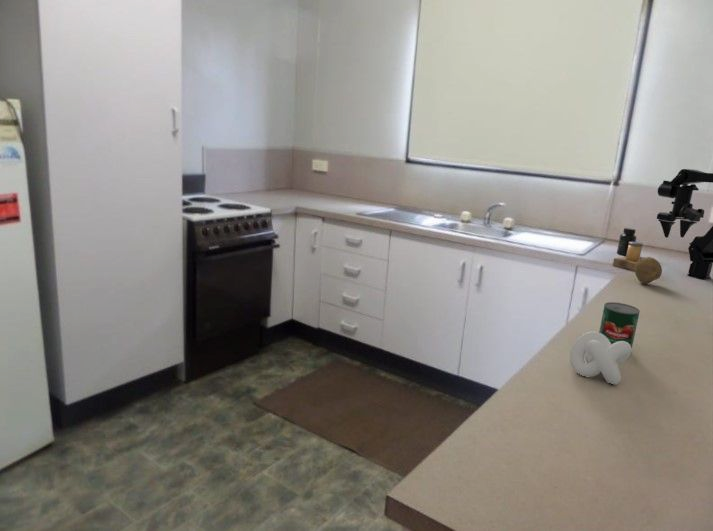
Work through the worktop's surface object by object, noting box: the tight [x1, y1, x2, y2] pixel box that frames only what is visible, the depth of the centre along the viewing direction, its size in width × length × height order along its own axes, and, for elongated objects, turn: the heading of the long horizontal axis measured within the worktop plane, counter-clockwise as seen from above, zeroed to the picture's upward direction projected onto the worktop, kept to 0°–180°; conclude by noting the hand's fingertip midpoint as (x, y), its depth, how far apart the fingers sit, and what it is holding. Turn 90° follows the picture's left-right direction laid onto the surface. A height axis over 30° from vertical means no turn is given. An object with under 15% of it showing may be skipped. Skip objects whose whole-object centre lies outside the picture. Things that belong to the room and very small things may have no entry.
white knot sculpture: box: [569, 330, 633, 385], centre depth 118 cm, size 11×12×9 cm
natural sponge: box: [634, 256, 663, 285], centre depth 202 cm, size 9×9×10 cm
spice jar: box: [625, 241, 644, 262], centre depth 226 cm, size 5×5×7 cm
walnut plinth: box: [612, 256, 636, 272], centre depth 227 cm, size 10×10×3 cm
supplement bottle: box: [616, 227, 637, 257], centre depth 252 cm, size 7×7×12 cm
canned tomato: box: [598, 301, 641, 349], centre depth 135 cm, size 8×8×11 cm
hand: (674, 237), depth 230 cm, fingers open, 9 cm apart
